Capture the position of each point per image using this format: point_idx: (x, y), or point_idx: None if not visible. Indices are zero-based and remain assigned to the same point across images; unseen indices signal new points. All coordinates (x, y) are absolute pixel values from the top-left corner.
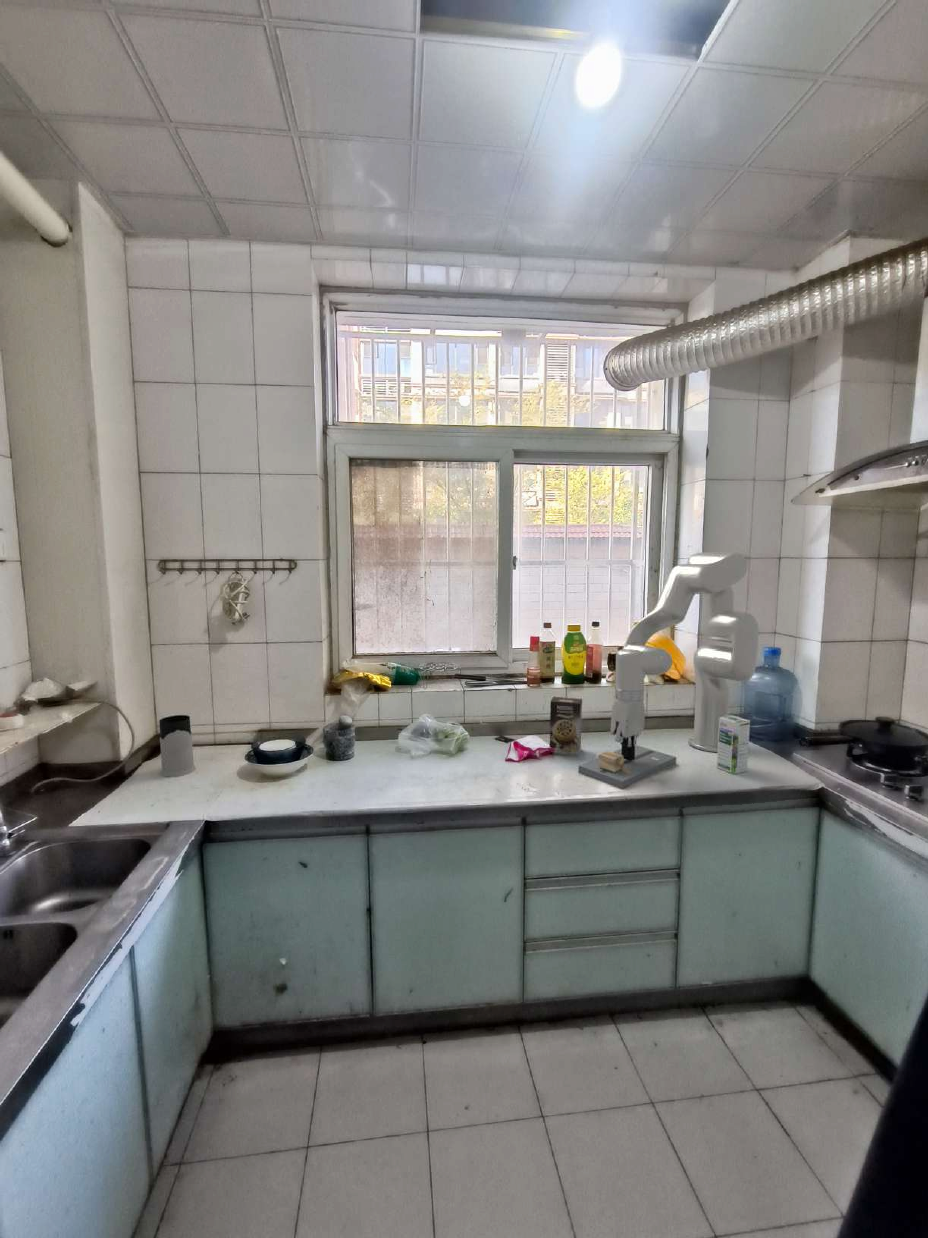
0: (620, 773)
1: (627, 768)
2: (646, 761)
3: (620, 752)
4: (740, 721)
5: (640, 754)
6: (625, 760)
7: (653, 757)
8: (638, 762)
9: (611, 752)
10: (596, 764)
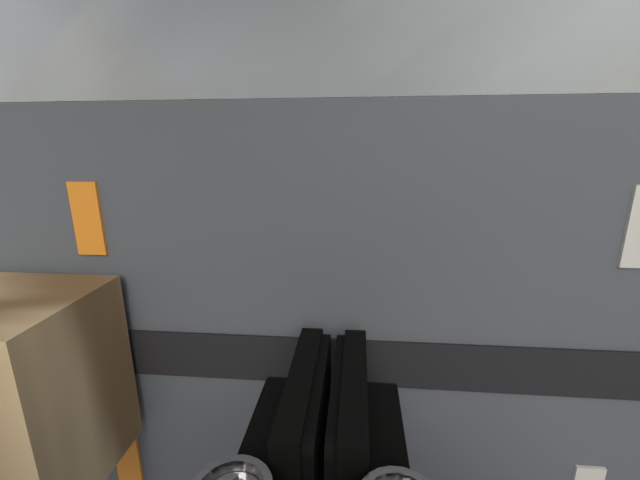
0: None
1: (192, 436)
2: (467, 468)
3: (522, 168)
4: None
5: (613, 356)
6: (332, 341)
7: (620, 469)
8: None
9: (5, 408)
10: (27, 208)
